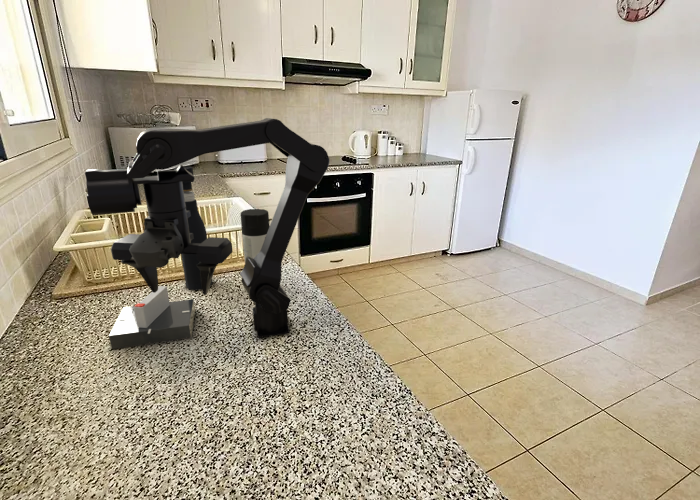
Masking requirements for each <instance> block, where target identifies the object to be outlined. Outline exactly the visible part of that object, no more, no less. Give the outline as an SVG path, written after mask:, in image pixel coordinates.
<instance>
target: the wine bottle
mask: <svg viewBox="0 0 700 500" xmlns="http://www.w3.org/2000/svg"><path fill="white" fill-rule="evenodd" d="M178 167H179V166H174V168H173V170H176V169H177V168H178ZM183 167H184V168H185V169H186V170H187V171H188V172H190V173H192V175H193V176H194V168H193V166H188V165H187V166H185V165H183ZM194 177H195V176H194ZM193 182H195V179H194V180H193V181H182V184H183V191H184V198H185V205H186V210H188V211H190V214H191V216H190V217H189V218H187V219H188V226H189V233H193V236H194V239H192V240H191V243H202V242H203V241H205V240H206V239H207V238H208V233H207V228H206V225H205V223H204V220H203V219H202V216H201V214H200V213H199V210H198V202H197V199H196V193H195V192H194V191H193V189H194V188H193V186H192V185H193ZM180 256H181V257H180V258H181V263H182V269H183V276H184V283H185V287H186V289H187V290H190V291H202V286H201V273H200V269H199V268H198V267H197V264H198V263H200V261H199V260H198V259H197V255H195V254H180ZM213 283H214V282H213V279H212V280H211V283H210V287H211V286H212V285H213Z"/></svg>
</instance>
